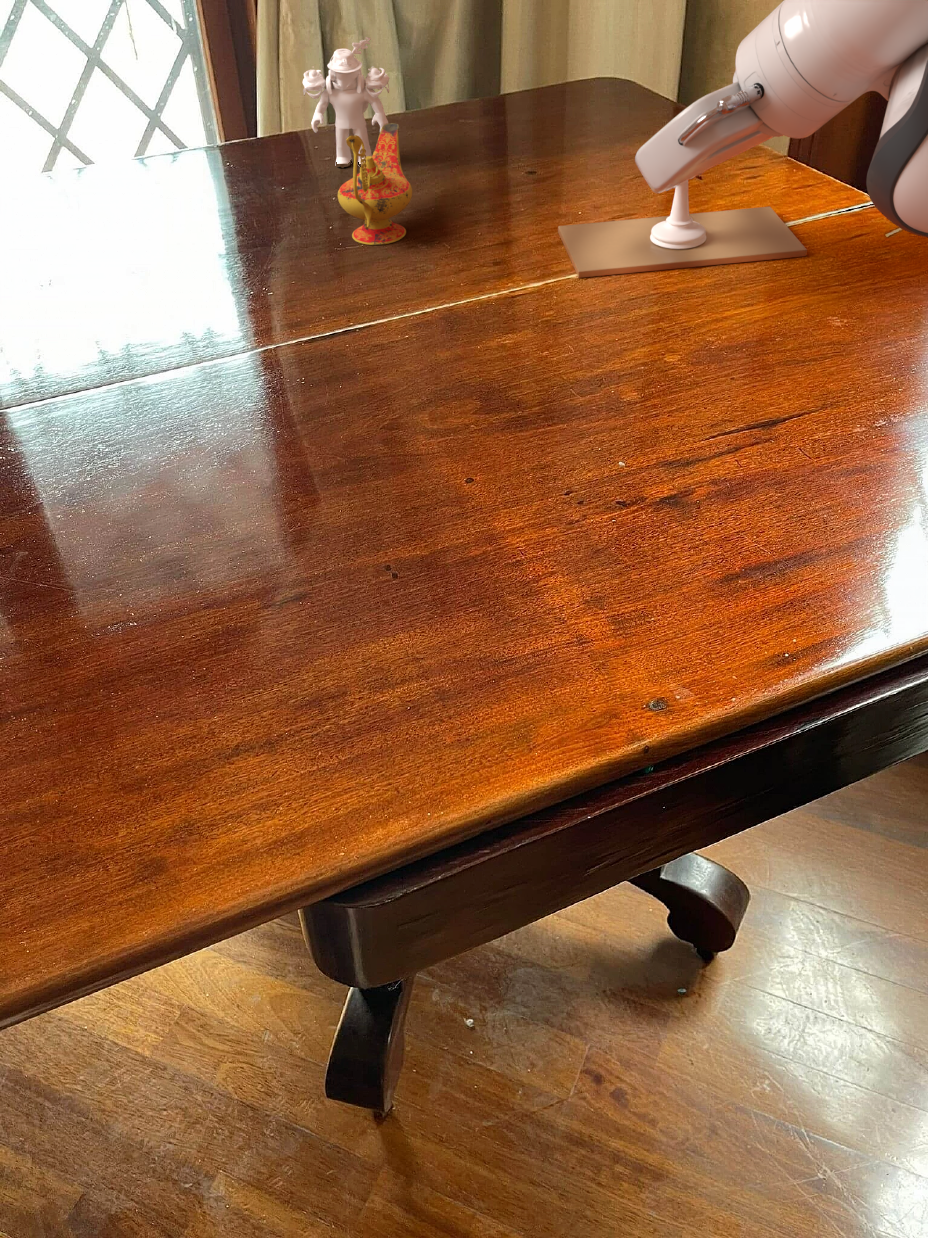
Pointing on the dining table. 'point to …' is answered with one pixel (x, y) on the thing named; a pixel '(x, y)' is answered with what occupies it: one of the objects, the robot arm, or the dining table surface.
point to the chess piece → (679, 224)
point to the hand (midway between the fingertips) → (676, 175)
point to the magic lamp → (377, 189)
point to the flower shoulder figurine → (348, 98)
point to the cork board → (633, 251)
